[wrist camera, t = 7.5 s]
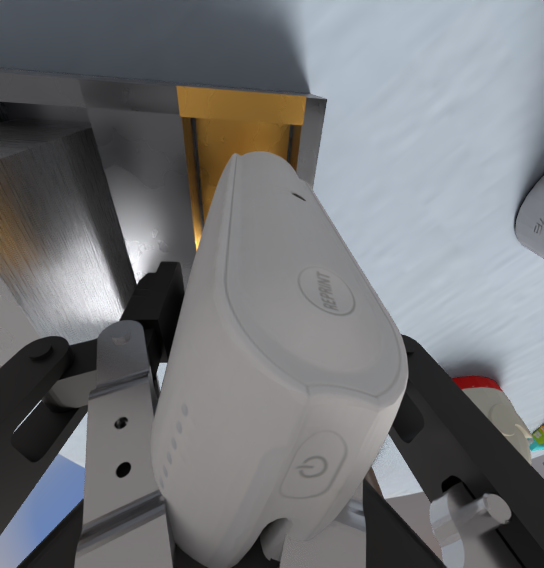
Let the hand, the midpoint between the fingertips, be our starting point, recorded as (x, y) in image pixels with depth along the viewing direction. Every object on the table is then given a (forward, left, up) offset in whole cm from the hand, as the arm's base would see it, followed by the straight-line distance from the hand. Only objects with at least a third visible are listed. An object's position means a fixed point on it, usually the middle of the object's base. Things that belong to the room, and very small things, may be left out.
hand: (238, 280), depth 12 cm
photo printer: (0, 0, -3) cm, 3 cm away
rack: (+5, 0, -9) cm, 10 cm away
